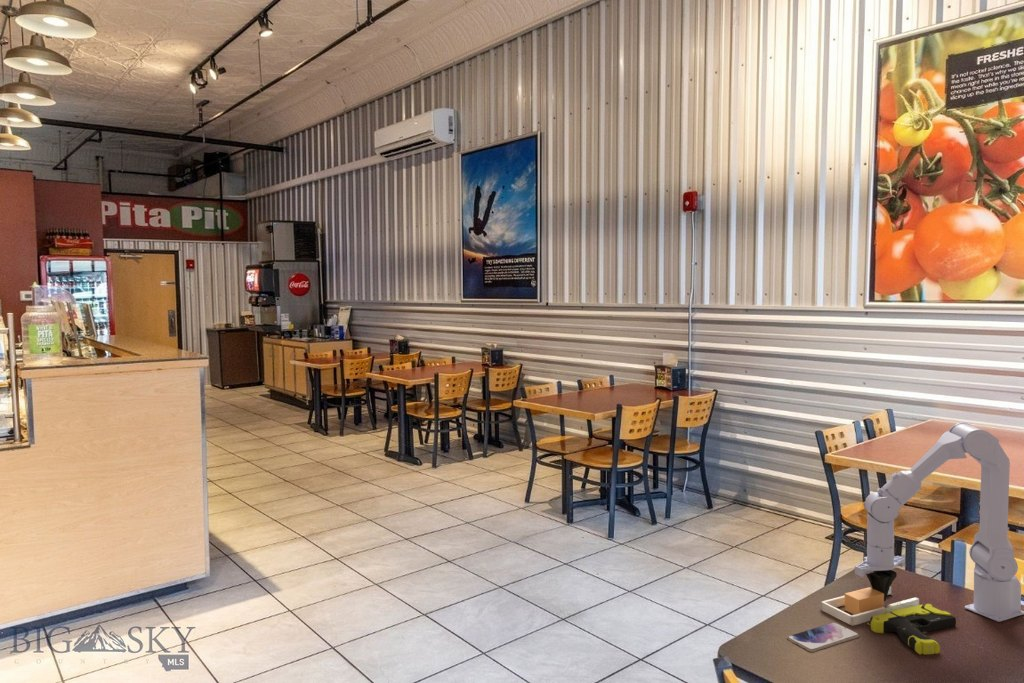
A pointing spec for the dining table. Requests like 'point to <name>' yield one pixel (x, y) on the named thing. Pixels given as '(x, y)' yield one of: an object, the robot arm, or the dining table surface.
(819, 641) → the smartphone
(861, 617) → the tray
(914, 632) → the stun gun
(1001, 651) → the dining table surface
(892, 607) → the rail channel
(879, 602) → the light orange cube
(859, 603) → the tan wooden cube
